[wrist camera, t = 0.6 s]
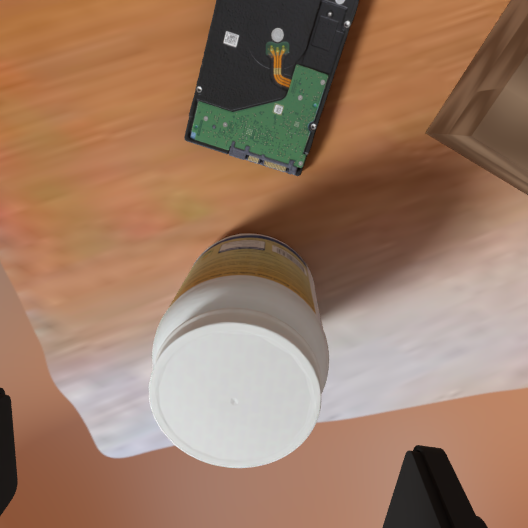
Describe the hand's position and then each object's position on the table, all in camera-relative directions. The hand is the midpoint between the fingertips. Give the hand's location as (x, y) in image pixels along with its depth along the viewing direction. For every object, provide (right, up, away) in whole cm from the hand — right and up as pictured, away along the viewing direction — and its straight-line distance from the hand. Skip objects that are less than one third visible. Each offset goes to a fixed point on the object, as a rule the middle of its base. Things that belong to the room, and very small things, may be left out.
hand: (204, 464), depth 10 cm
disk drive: (+2, +21, +25) cm, 33 cm away
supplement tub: (0, +2, +31) cm, 31 cm away
